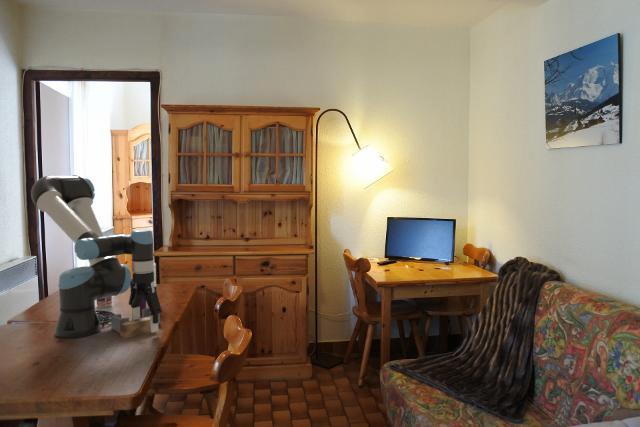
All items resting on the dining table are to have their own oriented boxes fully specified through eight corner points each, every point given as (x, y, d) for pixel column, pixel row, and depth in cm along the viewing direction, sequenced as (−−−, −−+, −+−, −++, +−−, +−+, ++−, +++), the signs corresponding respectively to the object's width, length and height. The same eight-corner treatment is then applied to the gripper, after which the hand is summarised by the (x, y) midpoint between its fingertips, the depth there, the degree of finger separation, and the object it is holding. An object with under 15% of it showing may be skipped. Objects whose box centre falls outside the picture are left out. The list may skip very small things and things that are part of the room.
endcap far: (151, 325, 193) (151, 312, 192) (142, 321, 198) (142, 309, 197) (159, 323, 195) (159, 311, 195) (150, 319, 200) (150, 307, 200)
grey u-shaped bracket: (120, 326, 191) (120, 313, 191) (129, 330, 186) (129, 317, 186) (111, 328, 189) (111, 315, 188) (120, 333, 184) (120, 319, 183)
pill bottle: (109, 303, 224) (108, 279, 223) (113, 306, 219) (113, 281, 218) (94, 305, 220) (94, 280, 219) (98, 308, 216) (98, 283, 215)
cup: (142, 317, 203) (141, 281, 201) (127, 316, 204) (126, 280, 203) (151, 313, 209) (150, 278, 208) (136, 312, 211) (135, 277, 209)
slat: (124, 338, 178) (124, 325, 178) (120, 336, 180) (119, 323, 180) (155, 331, 187) (155, 318, 186) (150, 329, 189) (150, 316, 189)
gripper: (170, 274, 178) (172, 332, 179) (136, 266, 195) (138, 319, 196) (150, 277, 172) (152, 337, 174) (118, 269, 189) (120, 323, 191)
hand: (145, 328), depth 185 cm, fingers open, 13 cm apart
